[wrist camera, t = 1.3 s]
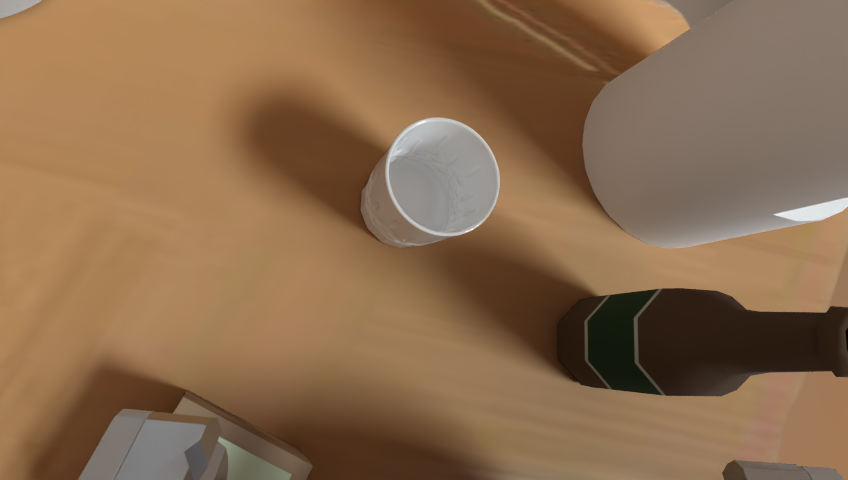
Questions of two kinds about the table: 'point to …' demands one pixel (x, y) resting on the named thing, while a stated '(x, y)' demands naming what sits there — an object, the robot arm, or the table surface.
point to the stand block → (249, 445)
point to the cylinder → (727, 127)
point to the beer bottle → (693, 342)
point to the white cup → (431, 184)
